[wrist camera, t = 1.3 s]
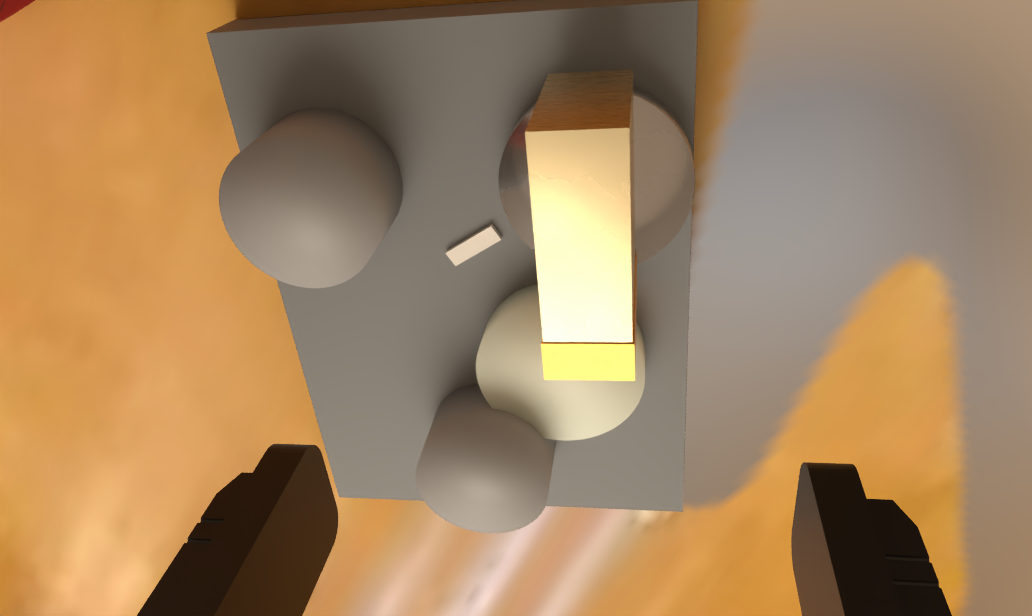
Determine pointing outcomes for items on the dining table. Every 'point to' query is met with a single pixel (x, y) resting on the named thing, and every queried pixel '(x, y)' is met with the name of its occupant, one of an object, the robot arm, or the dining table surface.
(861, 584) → the robot arm
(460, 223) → the base
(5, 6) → the plastic cup
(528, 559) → the dining table surface
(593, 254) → the wing knob
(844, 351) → the dining table surface
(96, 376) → the dining table surface
